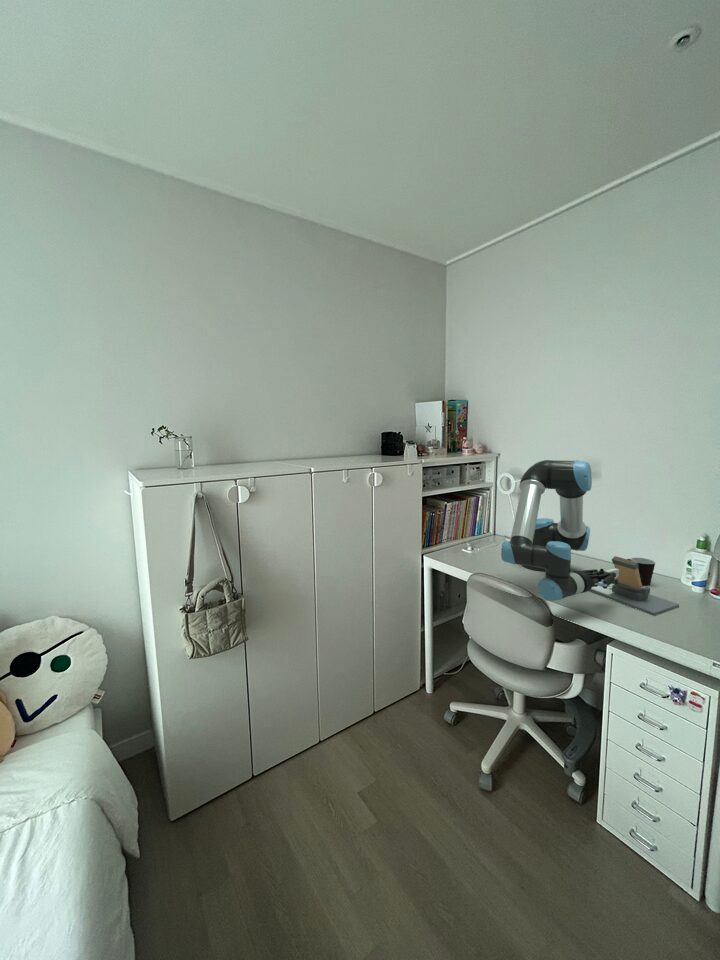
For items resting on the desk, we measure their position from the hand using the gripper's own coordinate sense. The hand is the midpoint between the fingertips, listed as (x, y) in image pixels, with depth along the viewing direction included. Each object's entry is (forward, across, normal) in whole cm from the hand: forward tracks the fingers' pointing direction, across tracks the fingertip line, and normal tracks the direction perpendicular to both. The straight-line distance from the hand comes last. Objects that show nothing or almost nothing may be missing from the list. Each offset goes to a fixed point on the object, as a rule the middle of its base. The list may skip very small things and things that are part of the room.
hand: (616, 572), depth 147 cm
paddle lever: (+9, 0, -7) cm, 12 cm away
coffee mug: (+30, -8, -12) cm, 34 cm away
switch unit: (+9, 0, -12) cm, 15 cm away
